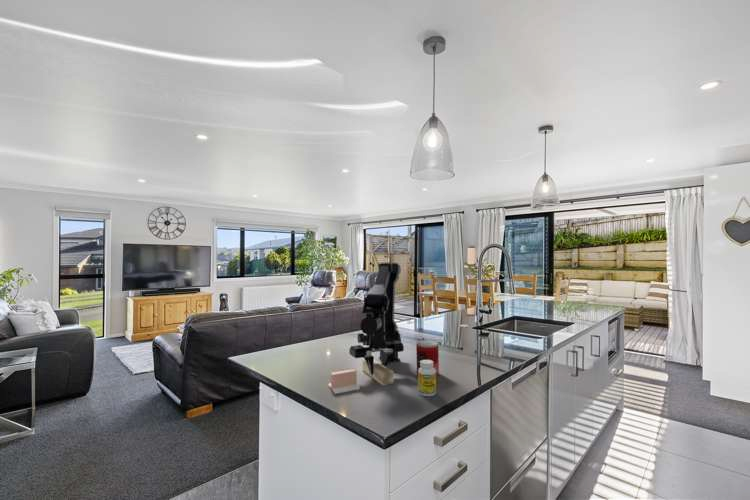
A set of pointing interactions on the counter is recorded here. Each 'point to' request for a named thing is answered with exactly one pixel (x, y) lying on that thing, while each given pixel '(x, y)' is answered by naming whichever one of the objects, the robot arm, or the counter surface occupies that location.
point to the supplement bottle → (427, 378)
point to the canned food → (428, 353)
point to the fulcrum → (343, 381)
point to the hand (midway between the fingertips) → (377, 373)
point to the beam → (379, 373)
